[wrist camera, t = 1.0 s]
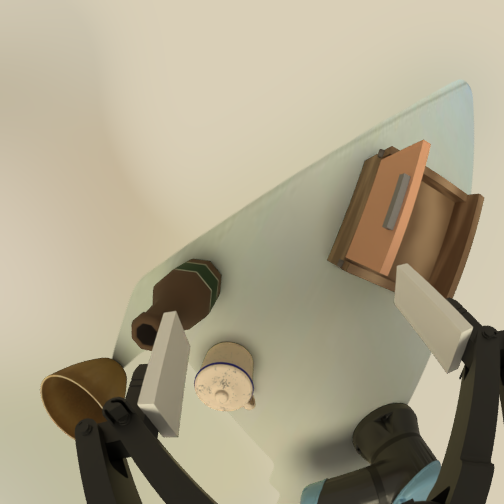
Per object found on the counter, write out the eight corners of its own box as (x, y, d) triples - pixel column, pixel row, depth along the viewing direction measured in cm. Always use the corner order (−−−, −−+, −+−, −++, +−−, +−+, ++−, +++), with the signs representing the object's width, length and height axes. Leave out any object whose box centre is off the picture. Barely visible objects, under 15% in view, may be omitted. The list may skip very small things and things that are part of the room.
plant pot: (133, 413, 51) (104, 459, 35) (77, 376, 51) (38, 412, 35) (154, 366, 49) (121, 413, 33) (91, 326, 49) (43, 358, 33)
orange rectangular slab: (387, 163, 36) (430, 144, 24) (351, 260, 38) (387, 276, 26) (376, 157, 36) (417, 135, 24) (340, 255, 38) (372, 269, 26)
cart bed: (436, 201, 45) (484, 197, 31) (403, 292, 46) (445, 315, 33) (361, 159, 44) (397, 138, 30) (324, 258, 46) (349, 274, 32)
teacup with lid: (193, 356, 49) (177, 390, 37) (233, 330, 48) (225, 361, 36) (234, 401, 50) (229, 440, 38) (274, 378, 49) (277, 416, 37)
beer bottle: (231, 272, 47) (203, 323, 23) (210, 311, 48) (168, 387, 24) (190, 248, 47) (125, 276, 23) (170, 288, 48) (99, 344, 24)
